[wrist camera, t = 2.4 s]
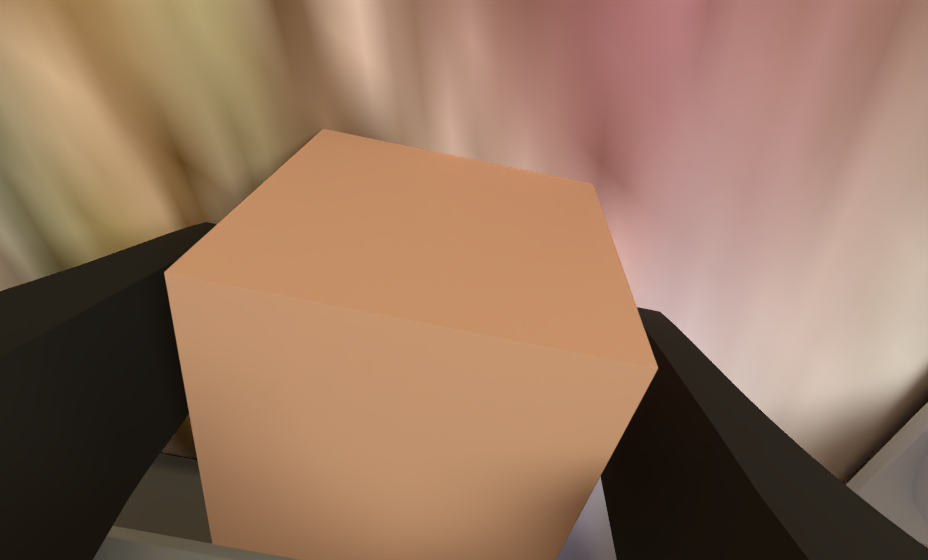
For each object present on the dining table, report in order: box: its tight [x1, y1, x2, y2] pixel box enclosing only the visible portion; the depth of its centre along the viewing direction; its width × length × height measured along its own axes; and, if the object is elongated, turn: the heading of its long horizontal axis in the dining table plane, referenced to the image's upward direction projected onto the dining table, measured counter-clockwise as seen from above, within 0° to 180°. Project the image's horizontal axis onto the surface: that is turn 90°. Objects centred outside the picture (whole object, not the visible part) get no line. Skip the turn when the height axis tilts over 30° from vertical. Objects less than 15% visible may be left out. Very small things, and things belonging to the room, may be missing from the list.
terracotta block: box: [164, 129, 658, 560], centre depth 8 cm, size 5×5×5 cm
